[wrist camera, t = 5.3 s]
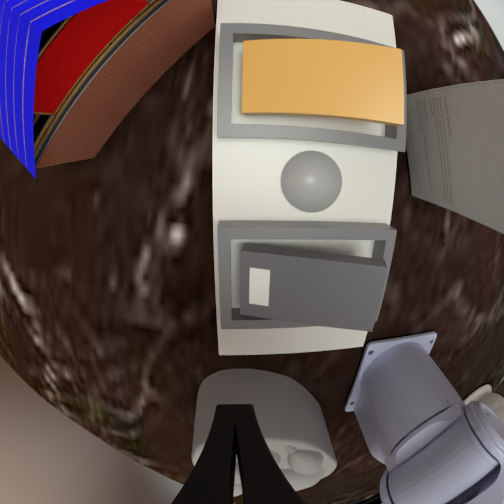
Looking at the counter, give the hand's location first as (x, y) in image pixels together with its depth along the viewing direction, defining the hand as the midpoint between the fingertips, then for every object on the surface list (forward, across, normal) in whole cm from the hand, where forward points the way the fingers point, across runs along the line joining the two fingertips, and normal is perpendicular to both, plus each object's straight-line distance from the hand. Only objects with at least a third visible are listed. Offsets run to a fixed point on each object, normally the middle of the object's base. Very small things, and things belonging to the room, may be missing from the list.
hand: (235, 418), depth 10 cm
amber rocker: (+6, -4, -13) cm, 15 cm away
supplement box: (+11, -15, -12) cm, 22 cm away
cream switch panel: (+10, -4, -8) cm, 14 cm away
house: (+11, +12, -20) cm, 26 cm away
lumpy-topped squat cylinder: (+11, -2, +13) cm, 17 cm away
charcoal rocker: (+6, -4, -3) cm, 8 cm away
